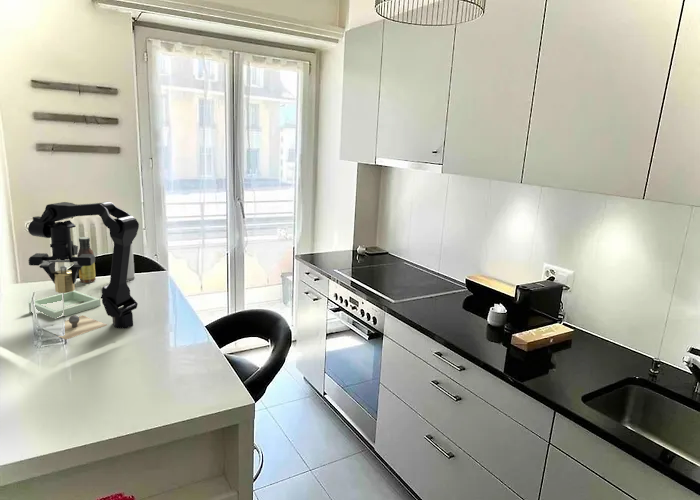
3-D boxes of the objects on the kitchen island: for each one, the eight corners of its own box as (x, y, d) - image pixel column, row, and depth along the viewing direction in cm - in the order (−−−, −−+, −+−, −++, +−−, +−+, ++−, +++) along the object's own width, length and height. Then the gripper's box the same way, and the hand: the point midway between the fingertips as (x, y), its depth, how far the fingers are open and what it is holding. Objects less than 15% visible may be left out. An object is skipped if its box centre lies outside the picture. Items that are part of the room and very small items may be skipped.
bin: (100, 309, 170) (100, 299, 169) (55, 323, 156) (54, 312, 155) (74, 299, 178) (73, 290, 177) (29, 312, 163) (28, 302, 162)
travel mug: (124, 282, 200) (121, 238, 195) (116, 278, 204) (113, 235, 199) (137, 279, 205) (135, 236, 200) (130, 276, 209) (127, 234, 204)
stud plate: (107, 328, 154) (106, 313, 153) (66, 343, 142) (64, 327, 141) (83, 319, 160) (81, 304, 159) (41, 332, 148) (39, 317, 147)
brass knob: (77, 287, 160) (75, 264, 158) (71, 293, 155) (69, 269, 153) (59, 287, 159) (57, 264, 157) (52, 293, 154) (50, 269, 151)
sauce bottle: (80, 279, 200) (76, 236, 195) (96, 278, 203) (93, 235, 198) (78, 284, 194) (74, 239, 190) (95, 283, 197) (91, 238, 192)
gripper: (98, 235, 162) (101, 276, 166) (40, 233, 158) (44, 276, 162) (88, 242, 152) (91, 286, 156) (25, 241, 147) (30, 286, 151)
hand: (64, 283), depth 156 cm, fingers closed on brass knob, 5 cm apart
